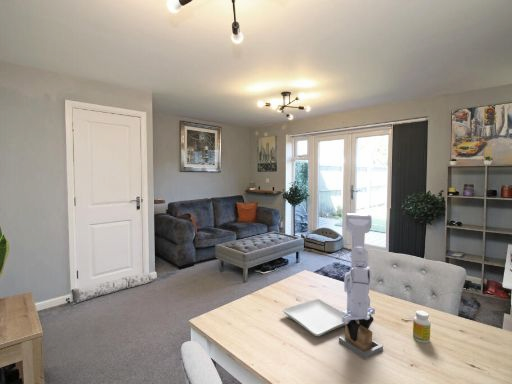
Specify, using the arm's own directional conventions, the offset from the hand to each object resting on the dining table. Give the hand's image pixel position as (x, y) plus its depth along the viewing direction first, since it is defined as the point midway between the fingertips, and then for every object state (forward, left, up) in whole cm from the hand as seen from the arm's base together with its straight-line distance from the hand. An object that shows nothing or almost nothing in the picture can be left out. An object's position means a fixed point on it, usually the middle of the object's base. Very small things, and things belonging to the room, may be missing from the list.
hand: (358, 337), depth 98 cm
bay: (0, 0, -2) cm, 2 cm away
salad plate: (+2, -19, -3) cm, 19 cm away
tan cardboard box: (0, 0, -2) cm, 2 cm away
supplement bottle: (-23, +9, -3) cm, 25 cm away
